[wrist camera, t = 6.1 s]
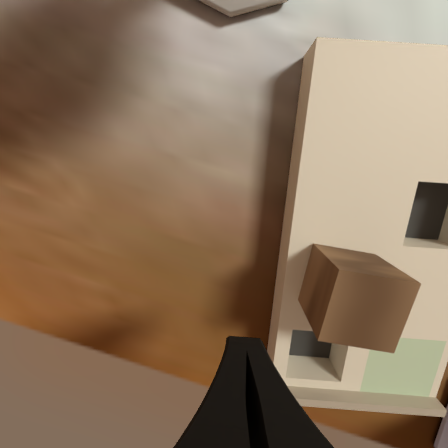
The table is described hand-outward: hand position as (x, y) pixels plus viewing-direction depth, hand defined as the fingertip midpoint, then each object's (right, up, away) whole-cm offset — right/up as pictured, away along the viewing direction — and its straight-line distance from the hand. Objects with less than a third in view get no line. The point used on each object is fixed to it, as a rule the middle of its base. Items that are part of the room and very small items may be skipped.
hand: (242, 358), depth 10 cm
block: (+6, +2, +6) cm, 9 cm away
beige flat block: (+9, +4, +8) cm, 13 cm away
